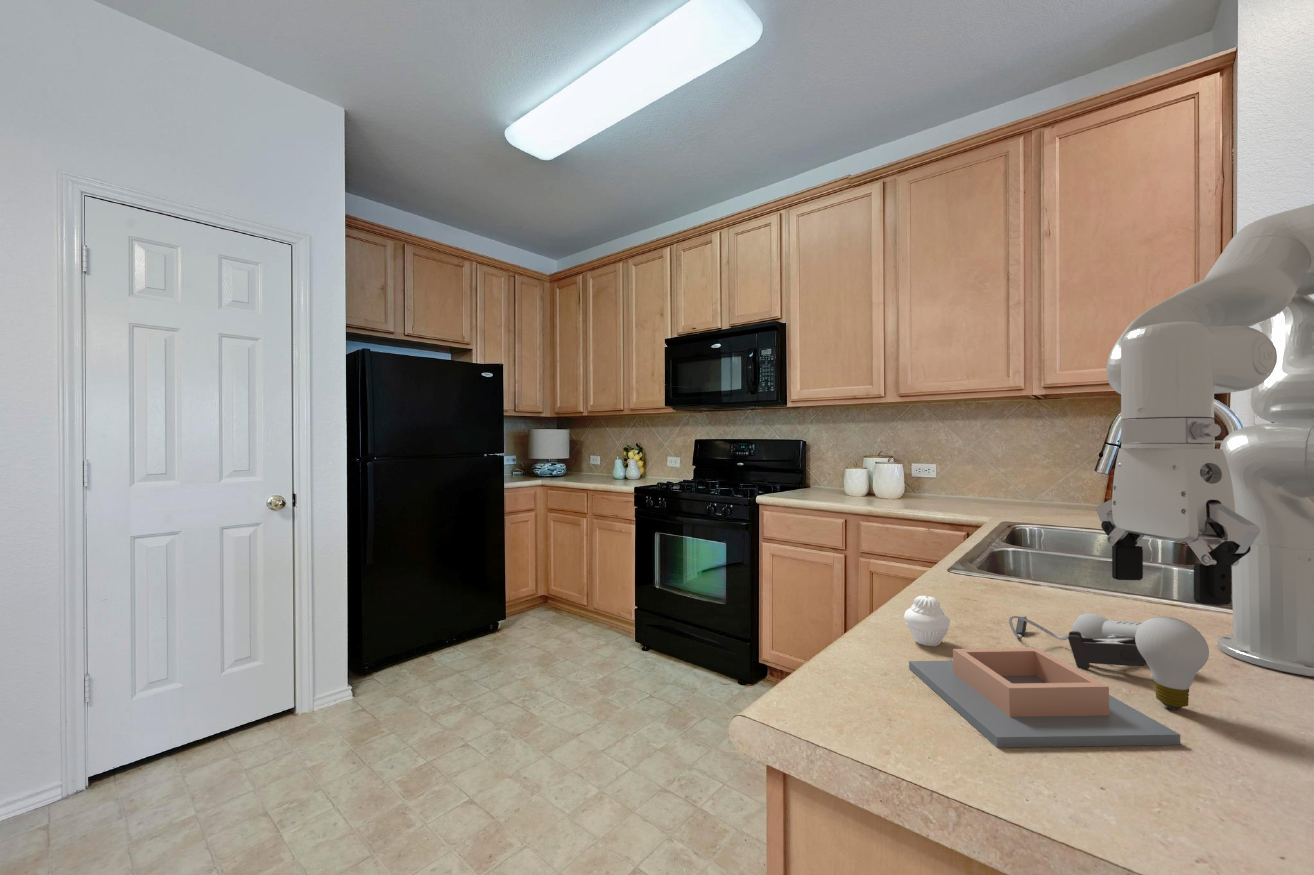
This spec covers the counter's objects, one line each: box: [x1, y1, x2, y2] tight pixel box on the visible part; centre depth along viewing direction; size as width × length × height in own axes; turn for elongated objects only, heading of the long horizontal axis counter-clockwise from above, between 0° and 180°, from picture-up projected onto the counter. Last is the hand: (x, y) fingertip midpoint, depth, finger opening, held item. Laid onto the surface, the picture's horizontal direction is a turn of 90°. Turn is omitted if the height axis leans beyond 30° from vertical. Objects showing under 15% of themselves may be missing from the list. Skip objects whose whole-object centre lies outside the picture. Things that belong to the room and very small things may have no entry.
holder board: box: [908, 647, 1181, 748], centre depth 61 cm, size 18×18×4 cm
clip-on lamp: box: [1008, 613, 1147, 671], centre depth 75 cm, size 12×6×18 cm
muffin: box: [903, 594, 951, 647], centre depth 79 cm, size 6×6×7 cm
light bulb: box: [1135, 616, 1210, 711], centre depth 59 cm, size 6×6×10 cm
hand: (1166, 590), depth 59 cm, fingers open, 9 cm apart
